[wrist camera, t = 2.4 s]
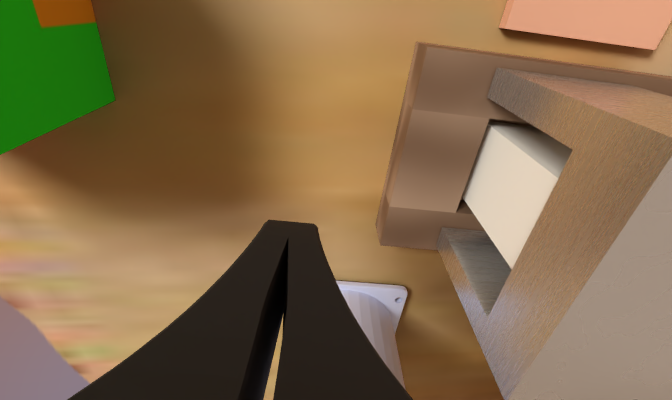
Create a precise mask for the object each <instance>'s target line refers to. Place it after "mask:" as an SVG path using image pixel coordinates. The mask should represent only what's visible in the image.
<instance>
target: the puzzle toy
mask: <svg viewBox="0 0 672 400" xmlns="http://www.w3.org/2000/svg"><path fill="white" fill-rule="evenodd" d="M113 101H115V96H114V92H113V88H112V84H111V80H110V76H109V72H108V68H107V64H106V60H105V56H104V52H103V48H102V44H101V40H100V36H99V32H98V27H97V23H96V19H95V15H94V11H93V7H92V3H91V0H0V155H1V154H3V153H5V152H7V151H9V150H11V149H14V148H16V147H18V146H20V145H22V144H24V143H26V142H28V141H31V140H33V139H35V138H37V137H39V136H41V135H43V134H45V133H47V132H50V131H52V130H54V129H56V128H58V127H60V126H62V125H64V124H66V123H69V122H71V121H73V120H75V119H77V118H79V117H81V116H83V115H86V114H88V113H90V112H92V111H94V110H96V109H98V108H100V107H102V106H105V105H107V104H109V103H111V102H113Z"/></svg>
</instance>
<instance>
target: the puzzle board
mask: <svg viewBox="0 0 672 400" xmlns="http://www.w3.org/2000/svg"><path fill="white" fill-rule="evenodd" d="M497 68H504V69H511V70H519V71H526V72H534V73H541V74H549V75H556V76H564V77H571V78H579V79H586V80H594V81H601V82H609V83H616V84H624V85H631V86H635V87H639V88H642V89H646V90H650V91H653V92H657V93H660V94H664V95H667V96H671V97H672V77H670V76H663V75H656V74H648V73H641V72H634V71H627V70H619V69H612V68H605V67H597V66H590V65H583V64H575V63H568V62H561V61H553V60H546V59H539V58H532V57H524V56H517V55H510V54H502V53H495V52H488V51H480V50H473V49H466V48H459V47H451V46H444V45H437V44H429V43H422V42H416V45H415V50H414V54H413V59H412V63H411V68H410V72H409V77H408V81H407V86H406V90H405V95H404V99H403V104H402V108H401V113H400V117H399V122H398V126H397V131H396V135H395V140H394V144H393V149H392V153H391V158H390V162H389V167H388V171H387V176H386V180H385V185H384V189H383V194H382V198H381V203H380V208H379V212H378V217H377V221H376V228H377V233H378V237H379V242H380V245H383V246H394V247H406V248H417V249H429V250H438V249H437V247H436V244H437V241H438V238H439V235H440V232H441V229H442V227H444V228H455V229H465V230H476V231H485V230H484V228H483V227H482V225H481V224H480V222H479V221H478V219H477V218H476V216H475V215H474V214H473V212H472V211H471V209H470V208H469V206H468V205H467V203H466V202H465V200H464V199H463V197H462V194H463V191H464V188H465V186H466V183H467V180H468V177H469V175H470V172H471V169H472V166H473V163H474V161H475V158H476V155H477V152H478V149H479V147H480V144H481V141H482V138H483V136H484V133H485V130H486V127H487V124H488V122H489V121H492V122H501V123H509V124H517V125H526V126H533V125H531V124H530V123H528V122H526V121H525V120H523V119H522V118H520V117H518V116H517V115H515V114H513V113H512V112H510V111H508V110H507V109H505V108H504V107H502V106H500V105H499V104H497V103H495V102H494V101H492V100H490V99H489V98H487V95H488V92H489V89H490V86H491V83H492V81H493V78H494V75H495V72H496V69H497ZM534 127H535V126H534Z"/></svg>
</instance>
